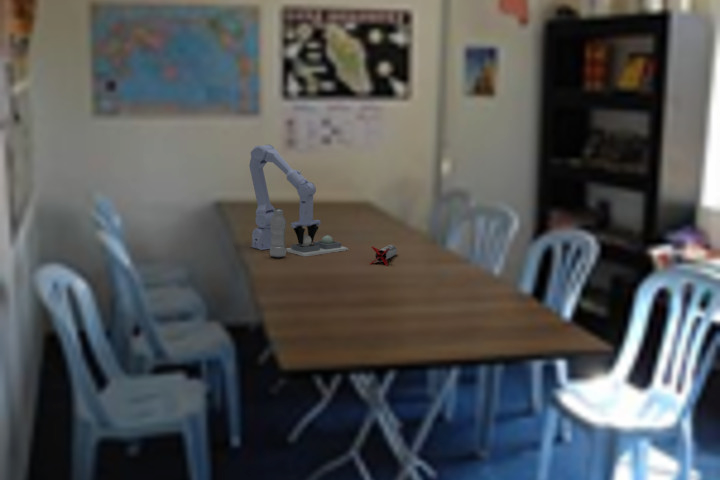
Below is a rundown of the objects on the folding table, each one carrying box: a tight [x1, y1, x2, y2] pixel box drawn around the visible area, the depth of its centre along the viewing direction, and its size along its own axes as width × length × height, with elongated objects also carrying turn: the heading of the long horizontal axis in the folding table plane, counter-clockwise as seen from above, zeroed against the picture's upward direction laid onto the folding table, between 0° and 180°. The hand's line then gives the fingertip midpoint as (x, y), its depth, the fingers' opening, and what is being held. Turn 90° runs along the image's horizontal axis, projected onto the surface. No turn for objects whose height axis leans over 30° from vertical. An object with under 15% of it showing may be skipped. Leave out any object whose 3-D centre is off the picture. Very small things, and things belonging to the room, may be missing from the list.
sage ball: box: [321, 235, 334, 244], centre depth 373 cm, size 5×5×5 cm
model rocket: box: [369, 244, 398, 266], centre depth 356 cm, size 11×23×10 cm
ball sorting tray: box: [286, 240, 349, 258], centre depth 369 cm, size 24×14×3 cm, turn 132°
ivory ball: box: [301, 234, 312, 246], centre depth 365 cm, size 5×5×5 cm
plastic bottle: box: [269, 208, 287, 259], centre depth 352 cm, size 6×7×20 cm
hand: (305, 243), depth 365 cm, fingers closed on ivory ball, 5 cm apart
